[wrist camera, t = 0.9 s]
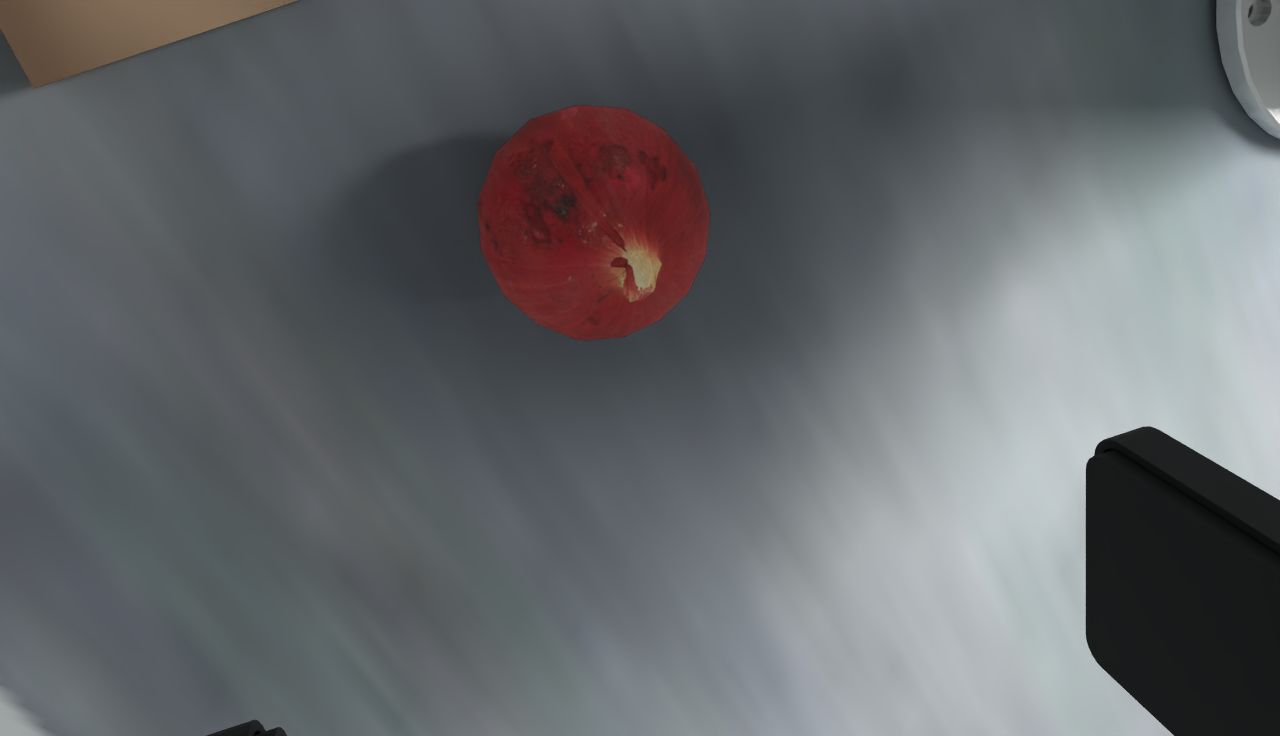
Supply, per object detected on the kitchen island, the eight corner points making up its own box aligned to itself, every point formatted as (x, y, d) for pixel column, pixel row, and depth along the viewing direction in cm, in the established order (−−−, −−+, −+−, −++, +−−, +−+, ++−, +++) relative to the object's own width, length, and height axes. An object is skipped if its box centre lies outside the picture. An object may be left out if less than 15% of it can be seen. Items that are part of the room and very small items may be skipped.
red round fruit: (417, 192, 28) (448, 274, 21) (567, 43, 27) (649, 73, 20) (560, 328, 30) (631, 441, 23) (698, 193, 30) (813, 266, 23)
